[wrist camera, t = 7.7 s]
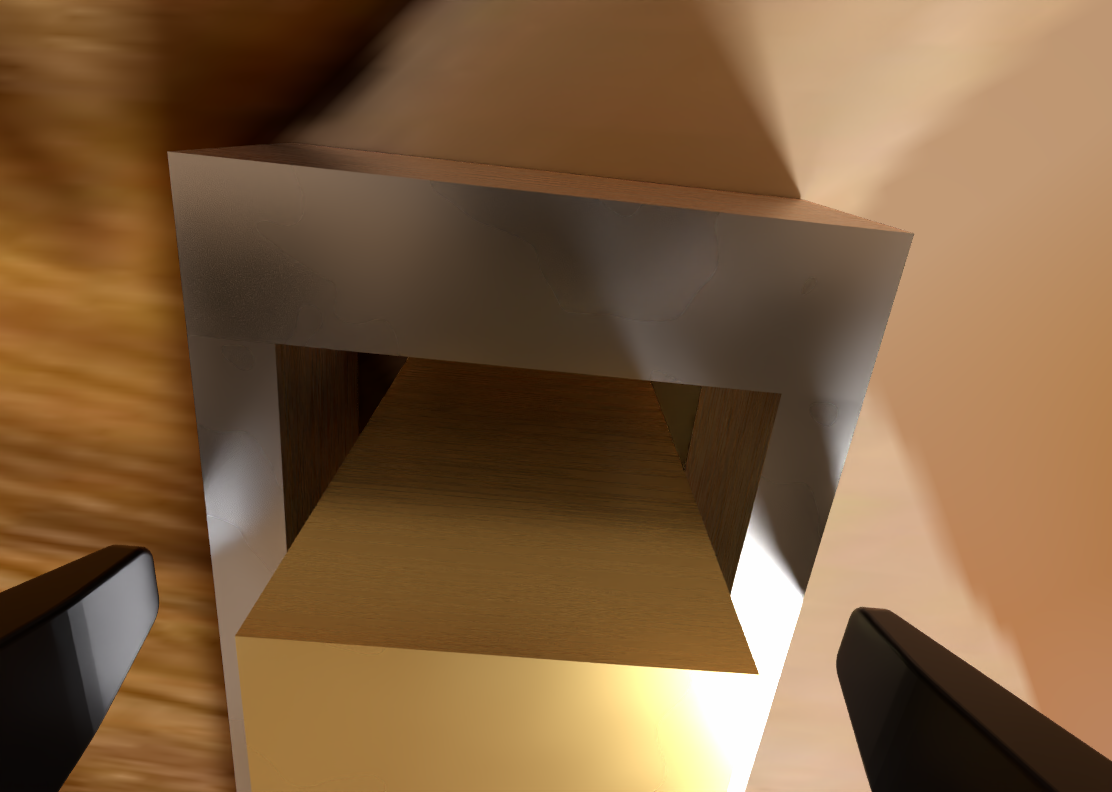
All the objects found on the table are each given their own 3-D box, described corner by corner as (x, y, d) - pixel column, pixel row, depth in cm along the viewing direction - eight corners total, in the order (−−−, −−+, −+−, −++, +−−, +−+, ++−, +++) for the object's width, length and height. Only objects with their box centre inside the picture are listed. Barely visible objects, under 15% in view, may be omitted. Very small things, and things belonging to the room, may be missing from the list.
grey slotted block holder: (632, 914, 17) (680, 1388, 11) (321, 894, 17) (179, 1371, 10) (803, 199, 10) (1205, 321, 4) (290, 142, 10) (-171, 175, 4)
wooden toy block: (411, 540, 13) (268, 957, 6) (414, 346, 11) (234, 636, 5) (615, 557, 13) (673, 979, 7) (645, 367, 12) (760, 675, 5)
